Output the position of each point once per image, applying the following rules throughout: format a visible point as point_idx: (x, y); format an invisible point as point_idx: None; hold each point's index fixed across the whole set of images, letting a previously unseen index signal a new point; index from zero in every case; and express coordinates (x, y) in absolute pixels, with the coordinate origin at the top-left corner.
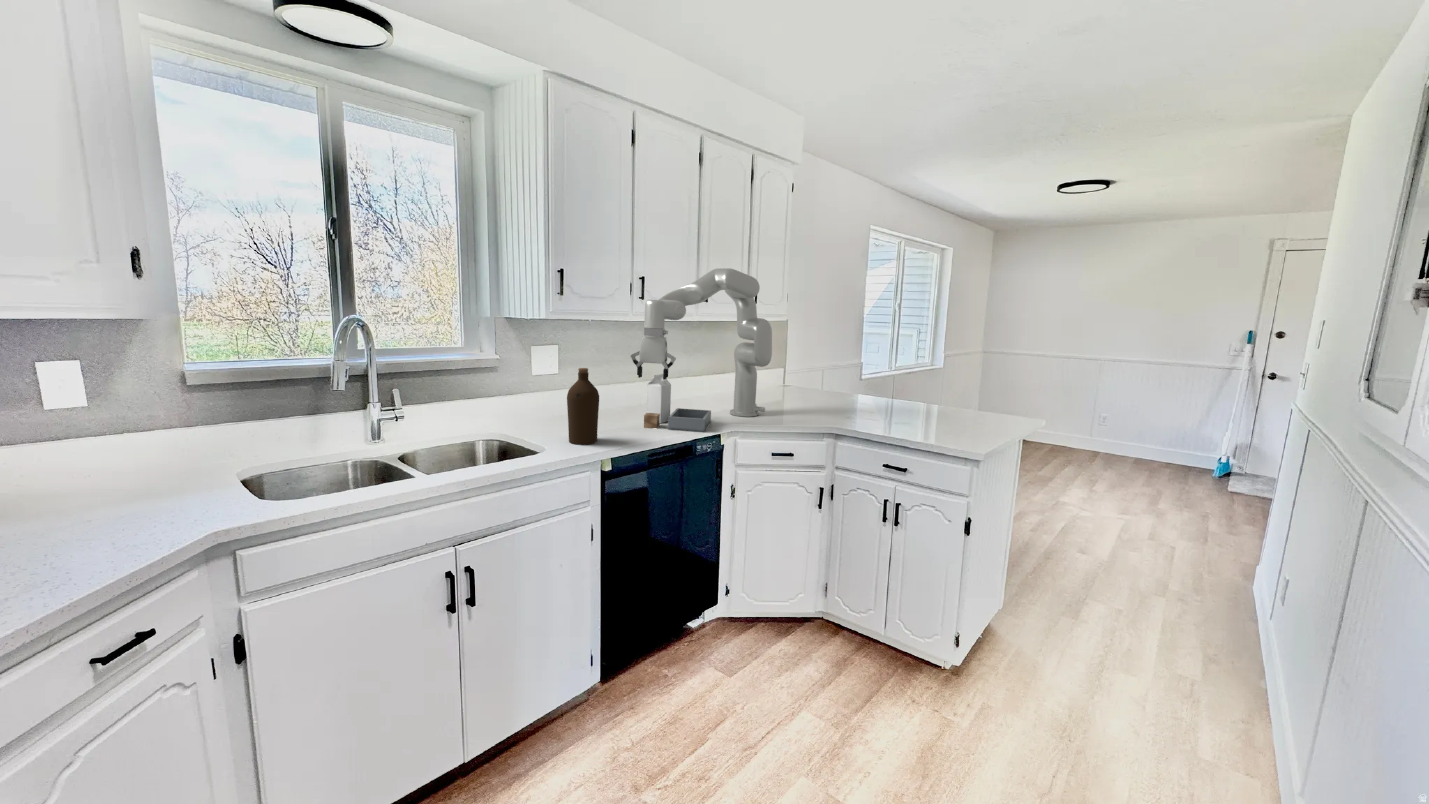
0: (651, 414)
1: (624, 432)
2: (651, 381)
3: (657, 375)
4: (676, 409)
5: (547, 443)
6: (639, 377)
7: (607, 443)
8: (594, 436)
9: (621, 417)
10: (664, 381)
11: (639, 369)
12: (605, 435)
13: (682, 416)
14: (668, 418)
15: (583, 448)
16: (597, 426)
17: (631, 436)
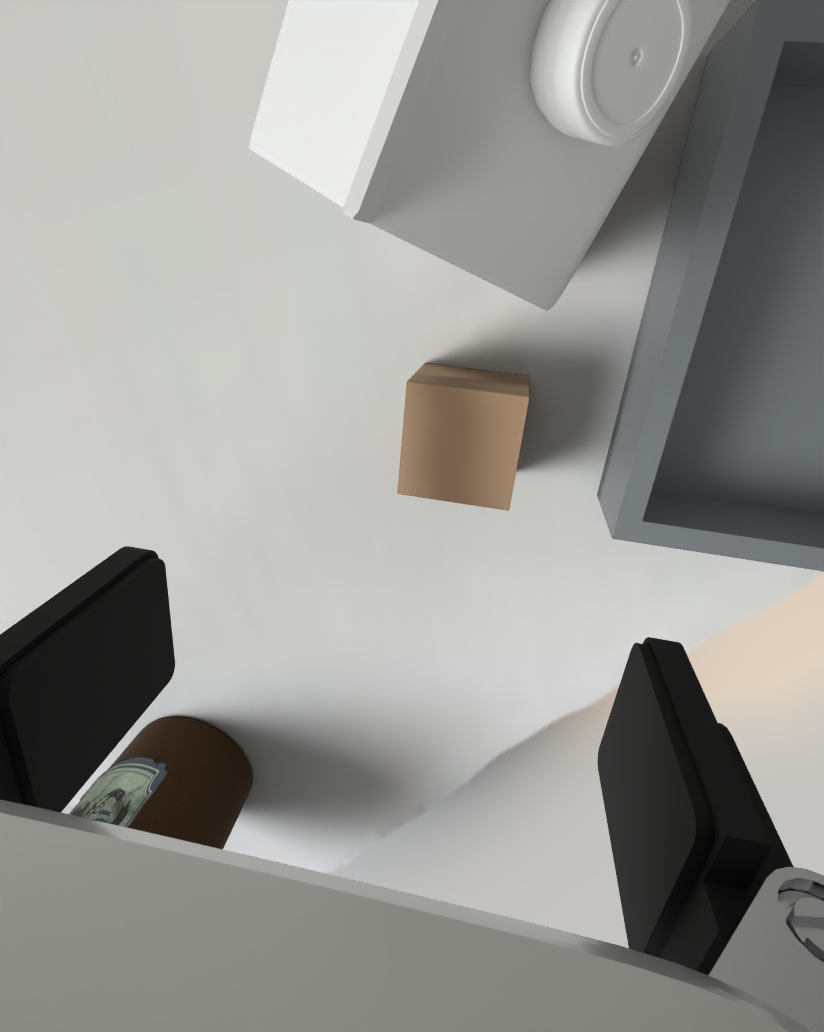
0: (455, 455)
1: (323, 596)
2: (317, 134)
3: (423, 51)
4: (737, 110)
5: (86, 787)
6: (165, 672)
7: (304, 786)
8: (237, 816)
9: (152, 86)
10: (624, 135)
11: (59, 795)
12: (247, 664)
13: (791, 75)
14: (612, 533)
15: (240, 844)
16: (219, 834)
17: (381, 674)
